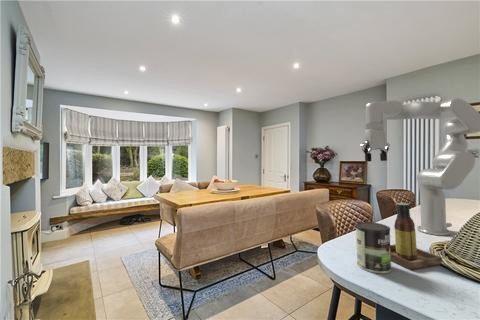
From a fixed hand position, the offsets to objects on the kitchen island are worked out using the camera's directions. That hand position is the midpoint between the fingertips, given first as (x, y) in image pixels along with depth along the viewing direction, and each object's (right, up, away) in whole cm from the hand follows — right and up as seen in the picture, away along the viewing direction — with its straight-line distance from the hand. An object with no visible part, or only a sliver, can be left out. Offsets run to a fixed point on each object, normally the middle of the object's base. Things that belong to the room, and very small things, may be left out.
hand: (376, 161), depth 110 cm
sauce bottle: (-7, -36, -29) cm, 46 cm away
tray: (-7, -36, -29) cm, 47 cm away
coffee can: (-22, -37, -34) cm, 55 cm away
